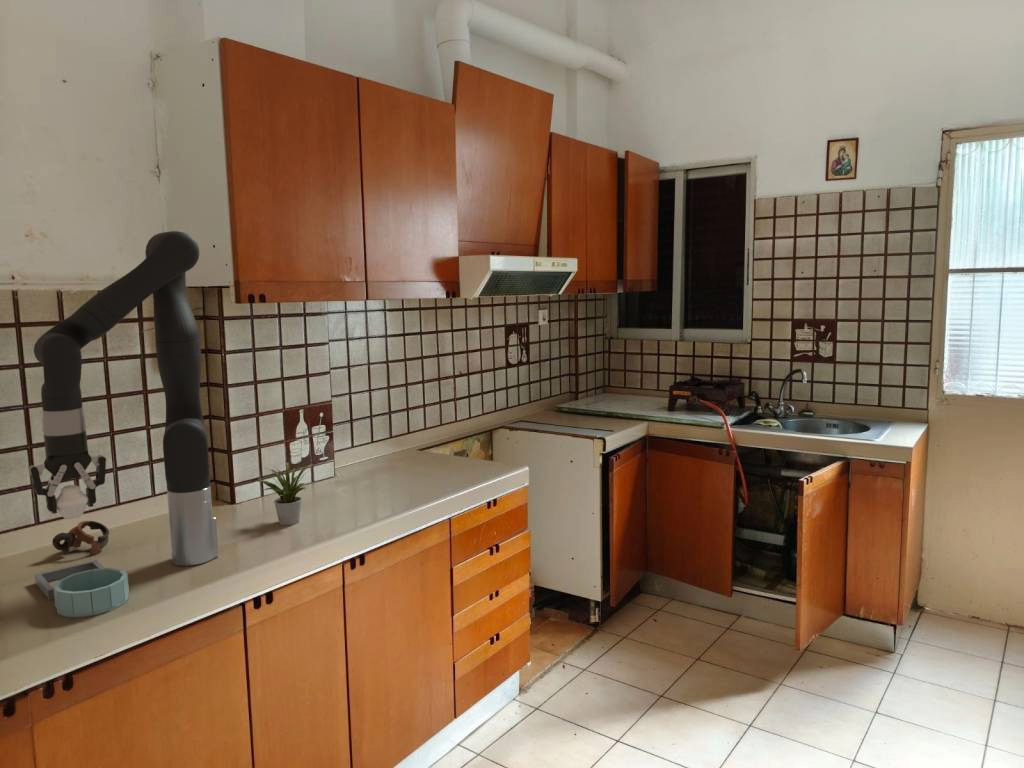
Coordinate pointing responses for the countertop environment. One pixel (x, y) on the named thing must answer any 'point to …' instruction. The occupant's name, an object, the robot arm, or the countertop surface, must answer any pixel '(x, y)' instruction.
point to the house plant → (287, 496)
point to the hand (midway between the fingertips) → (72, 509)
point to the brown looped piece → (82, 537)
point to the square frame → (62, 575)
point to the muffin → (71, 502)
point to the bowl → (91, 592)
